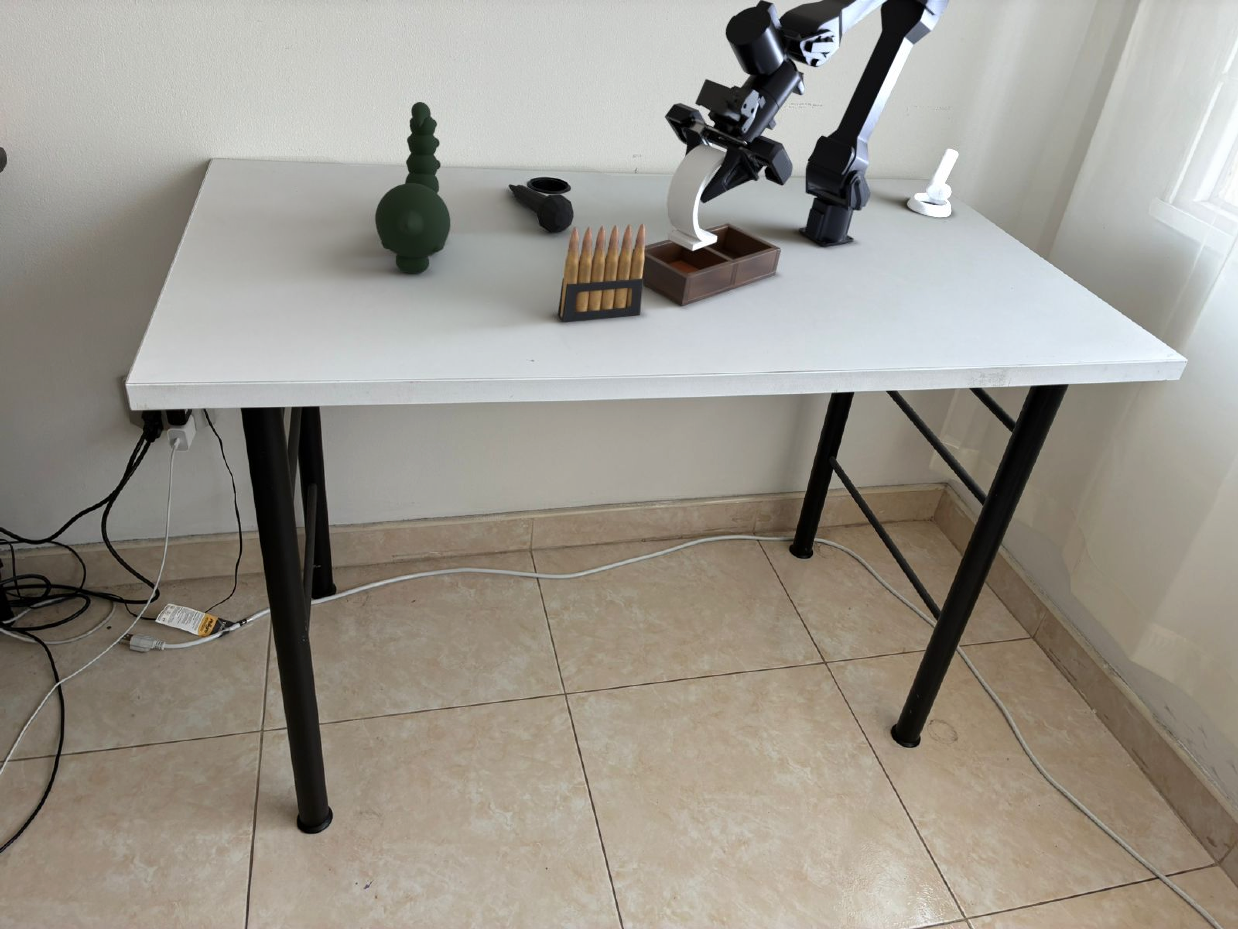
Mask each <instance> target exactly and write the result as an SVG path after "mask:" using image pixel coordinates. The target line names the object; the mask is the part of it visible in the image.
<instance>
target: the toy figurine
mask: <svg viewBox="0 0 1238 929" xmlns="http://www.w3.org/2000/svg"><path fill="white" fill-rule="evenodd" d="M410 112H411V118H410V119H409V130H410V132H411V133H410V134H409V136H408V137H407V138H406V143H407V146H408V150H409V153H410V154H408V157H407V159H405V165H406V167H407V168H406V169H407V171H408V174H407V175H406V177H405V182H404V183H402V184H398V185H396V186H394V187H392V188H391V189H389V190H388V191H386V193H385V194H384V195H383V196H382V197H381V199H380V200H379V202H378V204H377V205H376V206H377V207H376V210H375V216H374V222H375V228H376V232H377V235H378V237H379V238H380V239H379V240H380V244H381V246H382V247H383V249H386V250H389V251H391V252H392V253H394V254H396V256H395V261H394V262H395V265H396V267H397V268H398V269H399V271H401V272H404V273H409V274H421V273H424V272H425V271H427V270H428V269H429V266H430V258H429V257H430V256H432V255H433V254H435V253H439V252H441V251H442V250H444V248H445V245H446V242H447V240H448V237H449V234H450V229H451V216H450V212H449V208H448V206H447V204H446V203H445V201H444V199H443V198H442V197H441V196H440V195H439V191H440V182H439V180H438V177H437V176H436V175H437V172H438V170H439V169H440V168H441V166H442V165H441V161H440V160H438V159H437V157H436V156H435V153H436V152H437V148H439V147H440V139H439V138H437V137H436V136H435V135H434V134H435V132H436V128H437V127H438V122H437V121H436V119H434V118H433V117H432V116H431V115H432V112H431V108H430V107H429V105H428V104H427V103H425V102H422V101H417V102H415V103H414V104H413V105H412V106H411V109H410Z"/></svg>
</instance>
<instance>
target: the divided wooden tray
mask: <svg viewBox="0 0 1238 929" xmlns="http://www.w3.org/2000/svg"><path fill="white" fill-rule="evenodd" d="M704 230H705V231H707V232H709V233H711V234H714V235H716V236H717V241H716V242H715V243H712V244H709V245H707V246H704V247H701V248H699V249H696V250H693V251H692V250H690V249H688V248H686V247H683V246H681V245H679V244H677V243H675V242H673V241H671V240H669V239H665V240H661V241H657V242H654V243H649V244H645V249H644V266H643V273H642V278H643V286H644V287H647V288H649V289H650V290H652V291H654V292H656V293H658V294H659V295H660V296H662V297H664V298H667V299H668V300H669V301H672V302H673V303H675V304H677V305H678V306H680V307H684V306H687V305H690V304H693V303H696V302H699V301H702V300H705V299H708V298H710V297H711V298H712V297H715V296H717V295H720V294H723V293H726V292H729V291H732V290H735V289H738V288H740V287H744V286H746V285H747V286H748V285H749V284H752V283H755V282H758V281H761V280H764V279H767V278H770V277H773V276H776V273H777V269H778V266H779V265H778V264H779V260H780V256H781V251H782V248H781V247H780V246H777V245H774V244H772V243H771V242H768V241H767V240H765V239H762V238H760V237H758V236H756V235H753V234H752V233H750V232H748V231H746V230H744V229H742V228H740V227H737V226H735V225H733V224H731V223H728V222H726V223H724V224H720V225H716V226H712V227H709V228H705V229H704ZM633 251H634V248H632V250H631V255H632V254H633Z"/></svg>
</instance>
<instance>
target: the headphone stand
mask: <svg viewBox="0 0 1238 929" xmlns="http://www.w3.org/2000/svg"><path fill="white" fill-rule="evenodd" d="M725 155H726V151H724V150H721V149H719V148H716V147H713V146H708V145H706V144H701V145H699V146H697V147H695V148H694V149H693V150H691V151H690V152H689V153H688V154H687V155H686V156H685V155H684V157H683V159H682V160H681V162H680V163H679V164H678V166H677V168H676V170H675V172H674V174H673V176H672V179H671V181H670V185H669V188H668V191H667V192H668V193H667V196H666V200H667V201H666V212H667V217H668V219H669V222H670V225H672V227H673V228H674V229H675V230H673V231H669V232H667V239H666V240H668V239H669V240H671V241H673V242H675V243H677V244H679V245H681V246H683V247H686V248H688V249H690V250H692V251H693V250H696V249H699V248H701V247H704V246H707V245H709V244H712V243H715V242H716V241H717V236H716V235H714V234H711V233H709V232H707V231H705V229H702V228H701V227H700V226H699V220H698V212H699V205H700V204H699V203H700V197H701V194H702V192H703V191H704V189H705V187H706V186H707V184H708V181H709V180H710V178H711V176H712V175H714V172H715V171H717V170H718V169H719V168H720V166H721V165H722V163H723V162H724V159H725Z"/></svg>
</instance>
